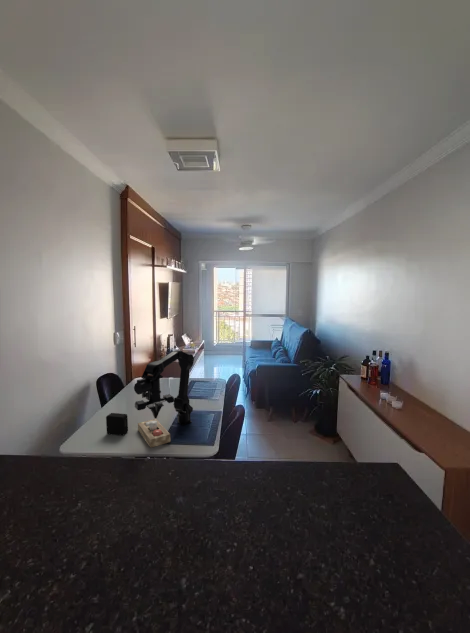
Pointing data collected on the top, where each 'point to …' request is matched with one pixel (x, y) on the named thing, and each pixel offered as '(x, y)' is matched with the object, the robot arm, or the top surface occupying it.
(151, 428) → the plug
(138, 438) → the top surface
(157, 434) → the red plug
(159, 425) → the beech block
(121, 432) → the electronic device
